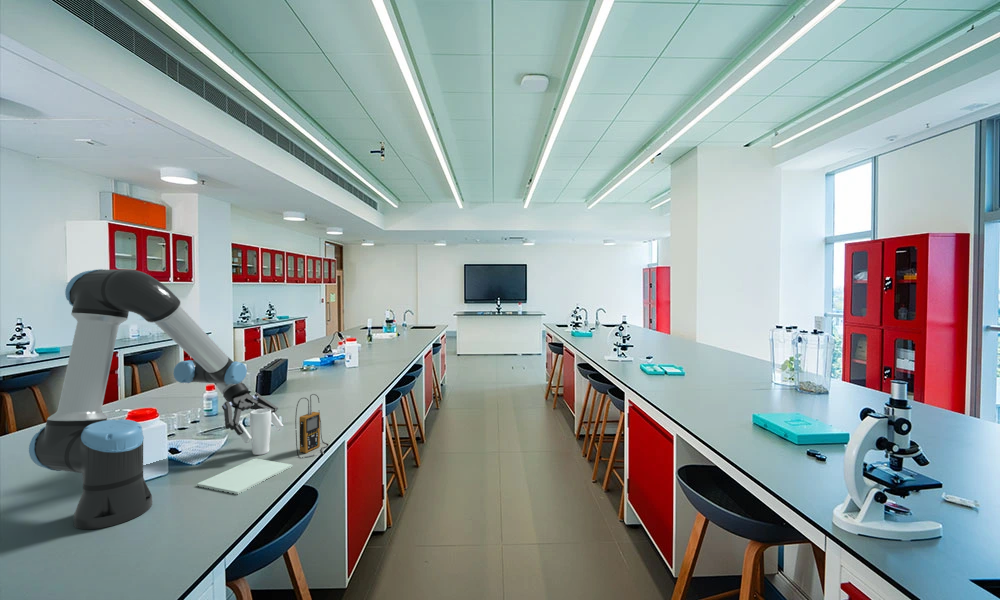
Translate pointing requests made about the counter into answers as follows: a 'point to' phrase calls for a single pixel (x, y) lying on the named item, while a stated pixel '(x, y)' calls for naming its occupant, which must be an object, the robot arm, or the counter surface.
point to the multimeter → (309, 430)
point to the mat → (244, 476)
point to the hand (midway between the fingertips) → (265, 434)
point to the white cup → (260, 430)
